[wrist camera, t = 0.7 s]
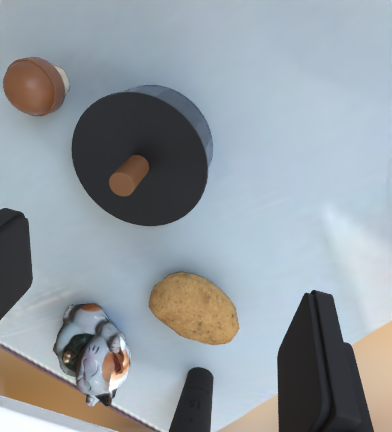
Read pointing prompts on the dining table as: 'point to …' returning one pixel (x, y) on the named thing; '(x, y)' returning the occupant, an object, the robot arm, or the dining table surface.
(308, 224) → the dining table surface
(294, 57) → the dining table surface
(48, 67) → the mushroom
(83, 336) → the lucky cat figurine
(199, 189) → the pan lid
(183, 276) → the potato
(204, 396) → the drinking cup
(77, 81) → the dining table surface
